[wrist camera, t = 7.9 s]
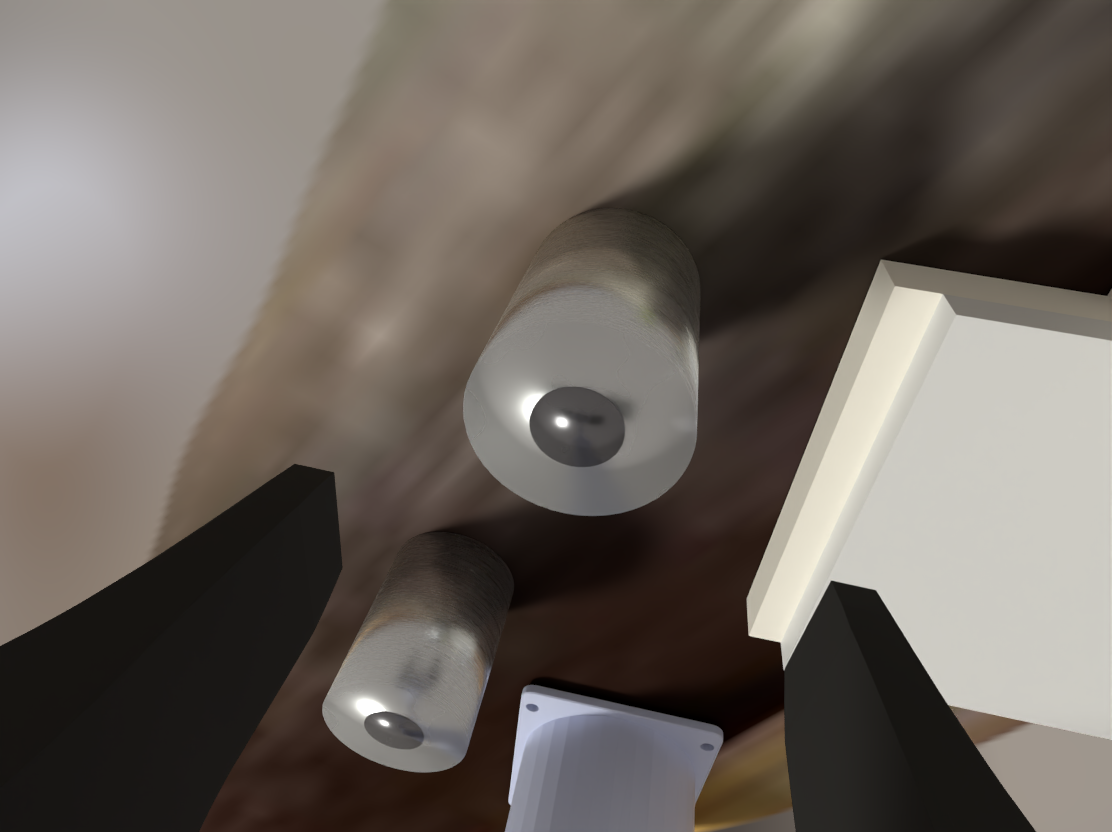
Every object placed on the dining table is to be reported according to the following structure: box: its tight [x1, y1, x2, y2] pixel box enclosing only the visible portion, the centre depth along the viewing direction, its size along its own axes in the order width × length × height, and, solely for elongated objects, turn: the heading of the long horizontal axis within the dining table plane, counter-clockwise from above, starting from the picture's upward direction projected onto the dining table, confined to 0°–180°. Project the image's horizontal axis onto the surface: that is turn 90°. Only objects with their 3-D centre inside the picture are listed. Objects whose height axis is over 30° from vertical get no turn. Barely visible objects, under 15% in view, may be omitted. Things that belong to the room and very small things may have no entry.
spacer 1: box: [322, 532, 514, 772], centre depth 23 cm, size 4×4×6 cm
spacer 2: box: [463, 208, 700, 516], centre depth 15 cm, size 4×4×6 cm
